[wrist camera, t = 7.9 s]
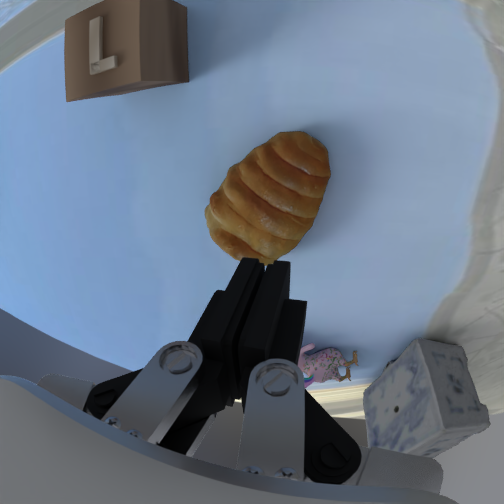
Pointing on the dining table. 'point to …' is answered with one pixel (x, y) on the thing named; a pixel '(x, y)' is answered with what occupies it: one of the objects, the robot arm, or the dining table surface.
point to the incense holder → (424, 401)
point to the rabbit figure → (323, 365)
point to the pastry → (270, 198)
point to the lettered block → (125, 48)
